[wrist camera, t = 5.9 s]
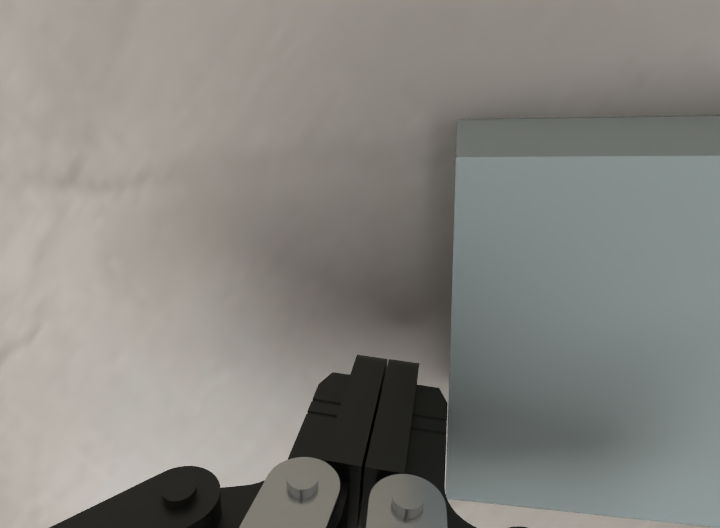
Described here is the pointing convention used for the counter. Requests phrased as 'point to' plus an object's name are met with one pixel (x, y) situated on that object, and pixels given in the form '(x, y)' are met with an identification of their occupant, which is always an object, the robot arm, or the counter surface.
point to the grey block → (587, 316)
